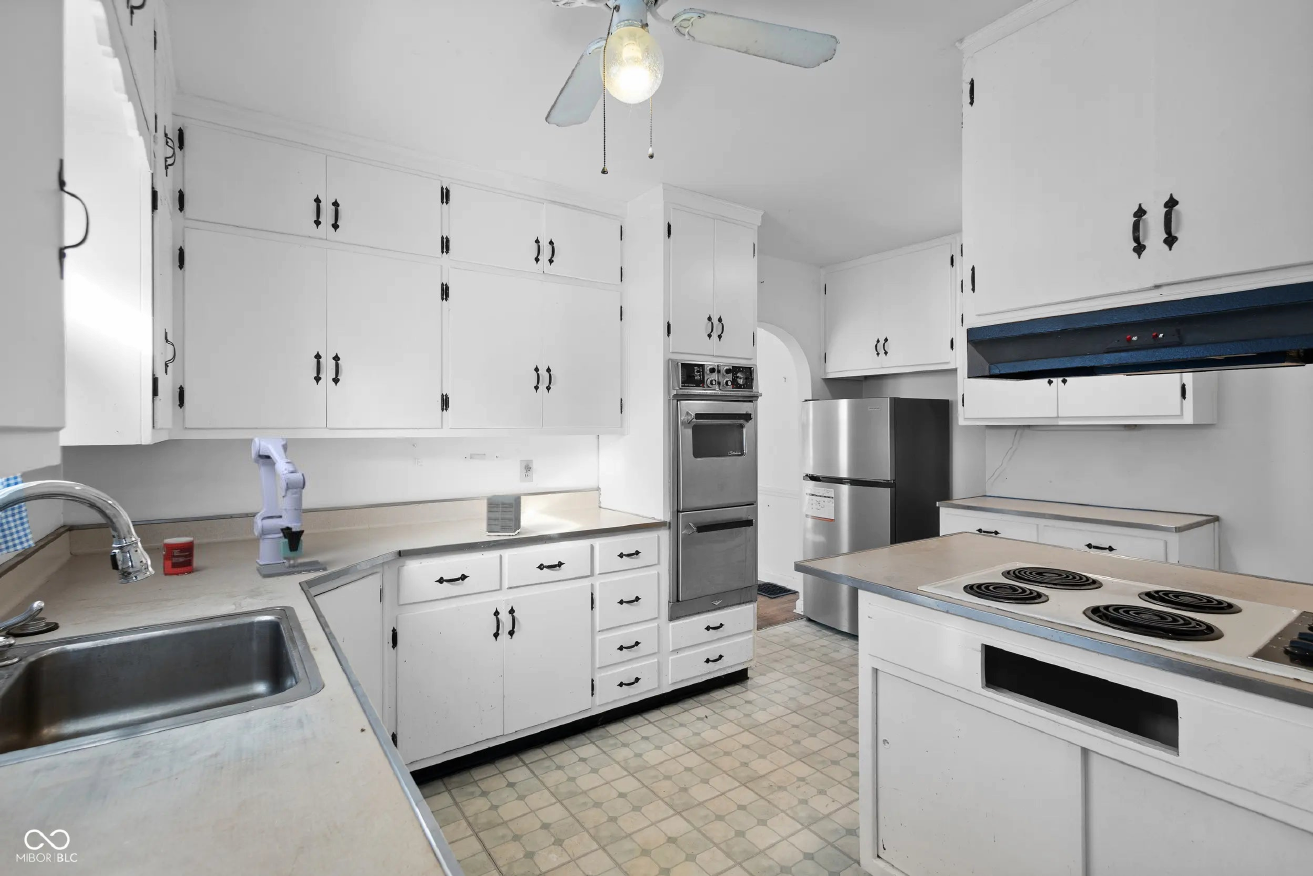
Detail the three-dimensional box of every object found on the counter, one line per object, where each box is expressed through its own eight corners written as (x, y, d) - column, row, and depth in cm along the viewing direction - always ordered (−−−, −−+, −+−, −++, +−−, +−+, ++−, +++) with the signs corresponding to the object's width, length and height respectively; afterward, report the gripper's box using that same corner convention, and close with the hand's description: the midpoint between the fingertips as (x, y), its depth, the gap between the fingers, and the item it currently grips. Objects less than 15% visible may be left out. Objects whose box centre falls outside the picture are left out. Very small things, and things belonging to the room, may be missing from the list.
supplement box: (493, 531, 292) (493, 494, 292) (521, 531, 292) (521, 495, 292) (485, 536, 279) (486, 497, 279) (514, 536, 279) (515, 497, 279)
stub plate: (256, 570, 203) (256, 559, 203) (317, 563, 215) (317, 553, 215) (262, 578, 193) (263, 566, 193) (326, 570, 204) (326, 559, 204)
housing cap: (279, 554, 204) (279, 539, 204) (298, 552, 207) (299, 537, 207) (282, 557, 200) (282, 541, 200) (302, 554, 203) (302, 539, 203)
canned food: (176, 570, 202) (176, 537, 202) (199, 571, 202) (200, 537, 202) (156, 575, 194) (156, 541, 194) (180, 576, 194) (181, 541, 194)
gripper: (274, 507, 207) (274, 548, 207) (282, 512, 196) (281, 554, 196) (298, 506, 211) (298, 546, 211) (307, 510, 200) (306, 552, 200)
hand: (291, 550), depth 204 cm, fingers closed on housing cap, 6 cm apart
